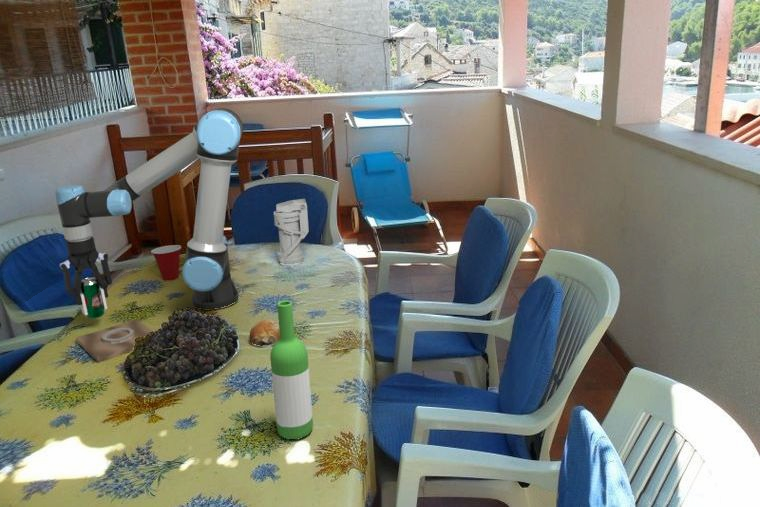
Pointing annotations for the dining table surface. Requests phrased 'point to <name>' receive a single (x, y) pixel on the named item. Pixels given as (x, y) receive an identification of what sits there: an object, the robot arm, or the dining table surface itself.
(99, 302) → the soda can
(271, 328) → the bread roll
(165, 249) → the plastic cup
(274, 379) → the wine bottle
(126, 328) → the collar board
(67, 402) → the dining table surface
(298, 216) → the grey tall angular piece
